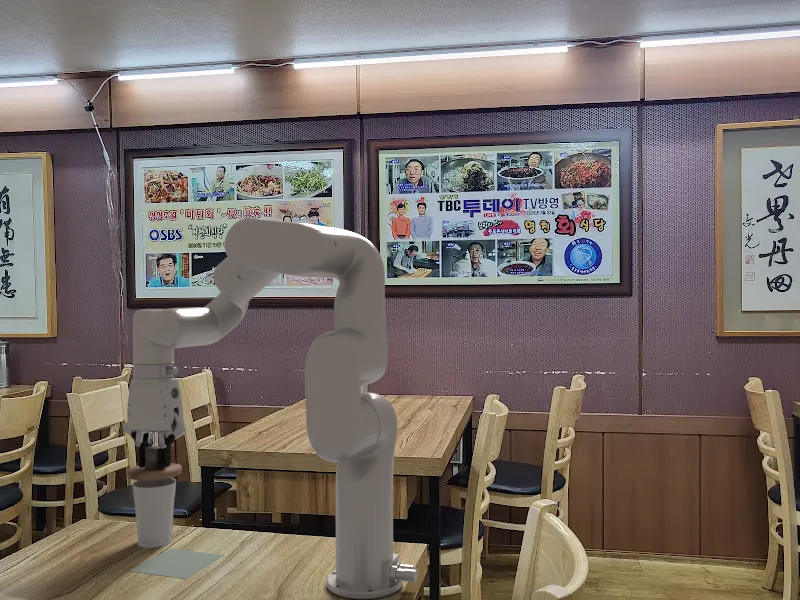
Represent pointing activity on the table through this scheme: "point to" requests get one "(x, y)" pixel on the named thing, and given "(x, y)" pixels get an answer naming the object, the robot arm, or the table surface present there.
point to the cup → (154, 511)
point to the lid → (153, 468)
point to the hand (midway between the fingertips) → (154, 465)
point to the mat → (177, 563)
